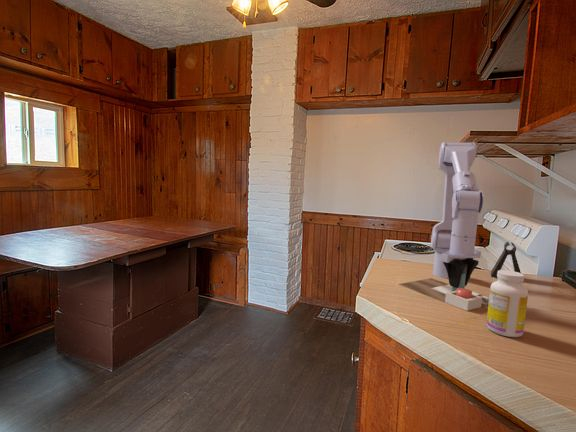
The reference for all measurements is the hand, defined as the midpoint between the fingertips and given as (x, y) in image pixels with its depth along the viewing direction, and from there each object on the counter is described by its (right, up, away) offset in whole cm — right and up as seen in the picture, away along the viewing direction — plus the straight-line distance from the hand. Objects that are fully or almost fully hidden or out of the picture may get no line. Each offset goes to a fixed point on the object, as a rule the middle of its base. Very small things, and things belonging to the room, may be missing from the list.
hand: (457, 285), depth 86 cm
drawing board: (-2, -3, +3) cm, 5 cm away
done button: (-2, -2, -6) cm, 6 cm away
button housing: (-2, -4, -6) cm, 7 cm away
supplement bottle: (+1, -6, -17) cm, 18 cm away
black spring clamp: (+29, -3, +24) cm, 38 cm away
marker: (0, -2, 0) cm, 2 cm away
